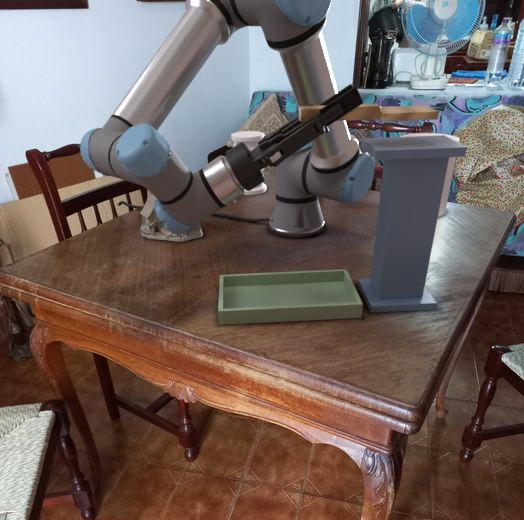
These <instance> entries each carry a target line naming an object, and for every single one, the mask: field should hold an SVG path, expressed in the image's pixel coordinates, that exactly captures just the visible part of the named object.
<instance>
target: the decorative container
mask: <svg viewBox="0 0 524 520" xmlns="http://www.w3.org/2000/svg"><path fill="white" fill-rule="evenodd" d="M264 136H265V132H262V131H258V130H243V131H235V132H233V133H231V134H230V137H231V141H233V145H232V148H233V147H234V146H236V145H237V144H239V143H240V142H243V143H245V144H246V146H247V147H248V149H249V150H250V151H252V150H253V149H254V148H256V147H257V146H258V145H259V144H258V142H259V141H260V140H261V139H262V138H263V137H264ZM264 170H265V168H263V169H261V171H262V173H263V176H264V177H265V174H264ZM267 190H268V189H267V184H265V183H264V182H263V183H261V184H260V185H258V186H257V187H255V188H254V189H252V190H250V191H247V190H244V195H243V196H255V195H256V196H257V195H260V194H261V195H262V194H264V193H266V192H267Z"/></svg>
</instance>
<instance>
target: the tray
mask: <svg viewBox="0 0 524 520" xmlns="http://www.w3.org/2000/svg"><path fill="white" fill-rule="evenodd" d="M218 284H219V285H218V304H217V315H218V316H217V317H218V325H219V326H224V325H225V326H227V325H243V324H246V325H247V324H265V323H268V324H269V323H288V322H307V321H326V320H327V321H329V320H346V319H361V318H362V315H363V308H364V307H363V306H364V304H363V301H362V299H361V297H360V295H359V293H358V290H357V289H356V286H355V284H354V282H353V280H352V278H351V276H350V274H349V271H348V269H347V268H345V269H321V270H320V269H319V270H300V271H279V272H275V271H274V272H258V273H257V272H256V273H234V274H233V273H232V274H220V275H219V283H218Z"/></svg>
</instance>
